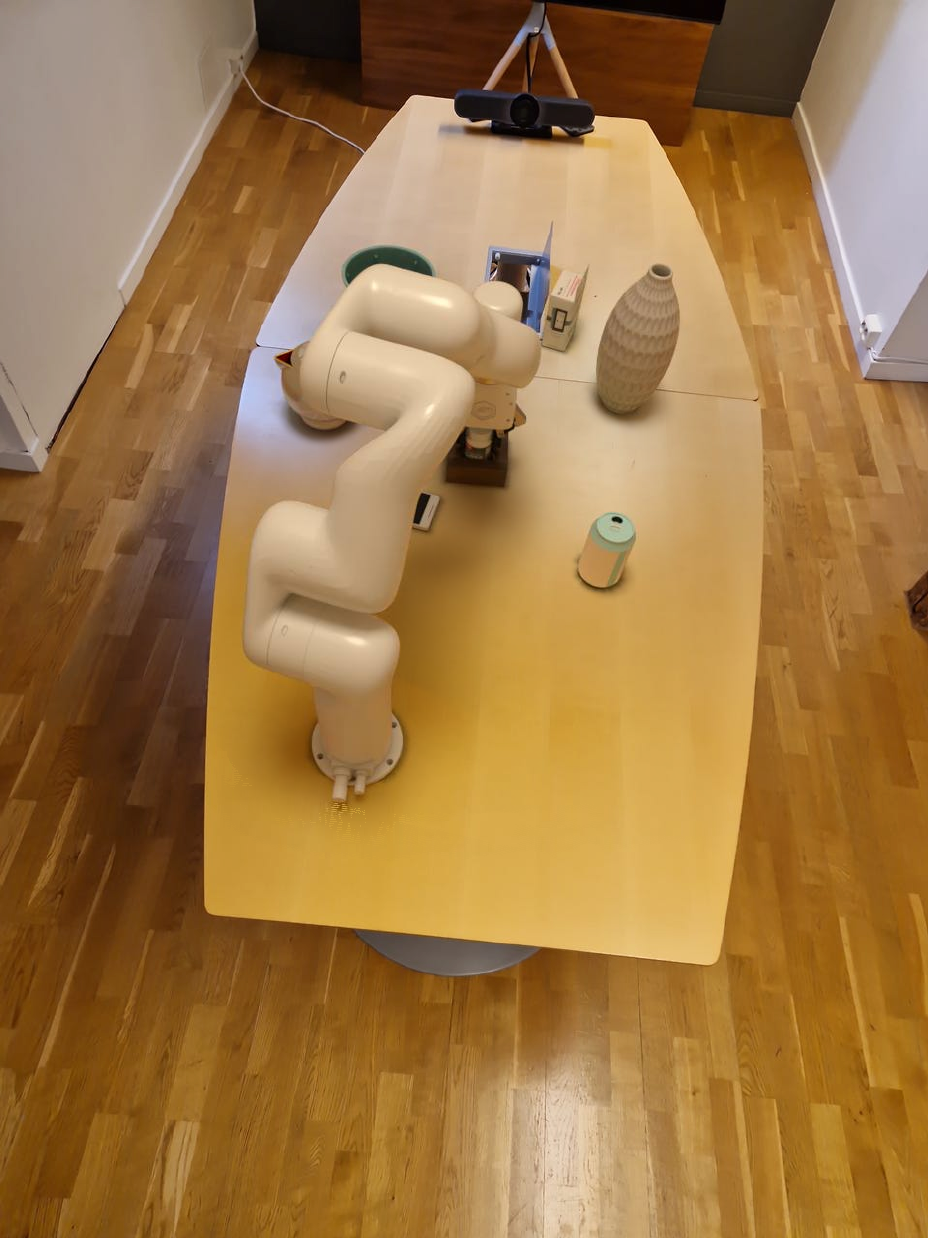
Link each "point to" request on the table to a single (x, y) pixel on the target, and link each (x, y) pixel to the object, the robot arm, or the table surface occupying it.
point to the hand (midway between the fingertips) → (477, 446)
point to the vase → (638, 341)
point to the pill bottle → (478, 443)
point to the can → (607, 549)
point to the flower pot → (385, 261)
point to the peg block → (478, 466)
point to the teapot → (292, 390)
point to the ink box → (564, 309)
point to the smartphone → (425, 510)
